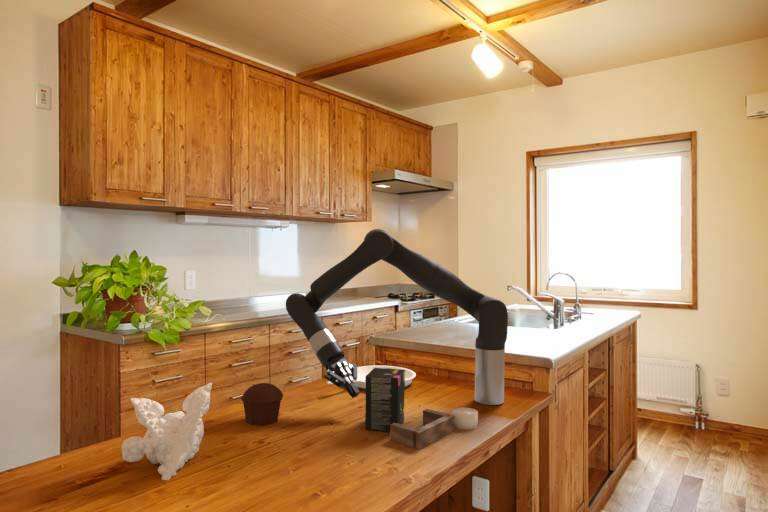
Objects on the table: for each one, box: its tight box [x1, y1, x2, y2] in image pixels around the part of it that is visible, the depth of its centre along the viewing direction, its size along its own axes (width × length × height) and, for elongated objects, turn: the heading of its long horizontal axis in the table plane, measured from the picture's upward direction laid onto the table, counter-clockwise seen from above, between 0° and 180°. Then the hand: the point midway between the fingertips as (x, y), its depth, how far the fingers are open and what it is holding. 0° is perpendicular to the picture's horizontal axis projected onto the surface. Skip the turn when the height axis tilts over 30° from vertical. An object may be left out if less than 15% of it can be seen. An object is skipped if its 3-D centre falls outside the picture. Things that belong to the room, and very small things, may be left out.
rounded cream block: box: [451, 406, 479, 431], centre depth 144 cm, size 7×7×4 cm
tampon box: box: [364, 368, 406, 433], centre depth 143 cm, size 11×9×15 cm
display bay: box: [389, 408, 456, 450], centre depth 135 cm, size 17×9×4 cm, turn 142°
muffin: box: [240, 382, 284, 426], centre depth 146 cm, size 12×11×10 cm
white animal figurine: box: [121, 382, 213, 481], centre depth 117 cm, size 19×20×20 cm
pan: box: [326, 364, 417, 390], centre depth 184 cm, size 26×39×5 cm
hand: (356, 395), depth 149 cm, fingers closed
